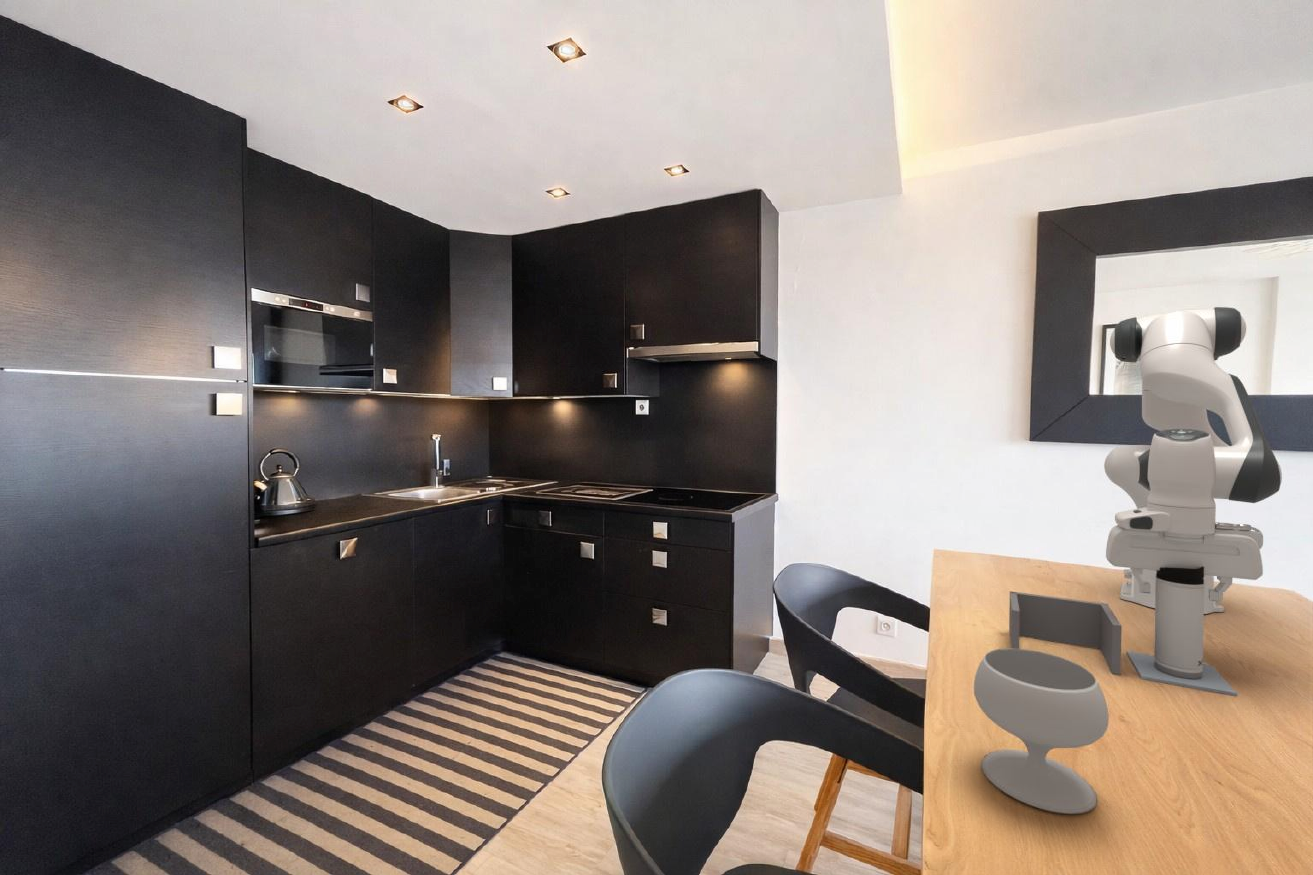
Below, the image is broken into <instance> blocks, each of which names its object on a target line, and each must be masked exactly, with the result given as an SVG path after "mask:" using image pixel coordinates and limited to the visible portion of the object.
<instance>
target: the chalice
mask: <svg viewBox="0 0 1313 875" xmlns="http://www.w3.org/2000/svg"><path fill="white" fill-rule="evenodd" d="M973 695H974V697H975V700H976V701H977V702H976V703H977V704H978V707H979V709H980V710H981V711H982V712H983V713H984V715H986V717H987V718H988V719H990V721H992V722H993V723H994V724H996V725H997V726H998V727H999V728H1001V729H1002V730H1004V731H1006V732H1008V733H1009V734H1011V735H1012V736H1014V737H1016V738H1018V739H1019V740H1020V741H1021V742H1022V743H1023V745H1025V747H1026V749H1027V751H1024V750H1020V749H1019V750H1018V749H1017V750H1016V749H1000V750H995V751H991V752H990V753H988V754H986V755H985V756H984V757H983V758H982V760H981V765H980V766H981V770H982V772H983V773H984V775H985V776H986V779H988V780H989V782H990V783H991V784H993V786H995V787H996V788H997V789H999V790H1000V791H1002V792H1003V793H1005V795H1008V796H1010V797H1012V798H1014V799H1016V800H1017V801H1020V802H1021V803H1024V804H1026V805H1028V806H1032V807H1034V808H1038V809H1040V810H1043V811H1046V812H1047V811H1048V812H1052V813H1058V814H1065V815H1068V814H1069V815H1074V814H1077V815H1078V814H1084V813H1087V812H1090V811H1092V810H1093V809H1094V808H1095V807H1096V806H1097V804H1098V801H1099V800H1098V796H1097V792H1096V791H1095V789H1094V788H1093V786H1092V785H1091V784H1090V783H1089V782H1088V781H1087V779H1085V777H1083V776H1081V775H1080V774H1079V773H1077V772H1076V771H1075V770H1073V769H1072V768H1070V767H1068V766H1067V765H1064V764H1062V763H1060V762H1058V761H1056V760H1054V759H1052V758H1050V757H1047V754H1048V753H1049V752H1050V751H1051V750H1054V749H1077V748H1082V747H1086V746H1090V745H1092V744H1094V743H1096V742H1097V741H1099V740H1100V739H1101V738H1102V737H1104V735H1105V734H1106V732H1107V731H1108V728H1109V720H1110V719H1109V718H1110V717H1109V716H1110V715H1109V709H1108V704H1107V700H1106V697H1105V694H1104V692H1103V690H1102V688H1101V686H1100V684H1099V681H1098V680H1097V678H1096V676H1094V674H1093V673H1092V672H1091V671H1090V670H1088V668H1087V669H1086V668H1085V667H1083V666H1082V665H1080V664H1078V663H1076V662H1074V661H1072V660H1069V659H1067V658H1064V657H1060V656H1058V655H1054V654H1051V653H1048V652H1047V653H1046V652H1042V651H1039V650H1038V651H1037V650H1033V649H1028V648H1027V649H1026V648H1019V649H1016V648H1011V647H1010V648H997V649H994V650H990V651H989V652H987V653H986V654H985V655H984V657H983V658H982V659H981V661H980V663H979V664H978V667H977V669H976V673H975V676H974V682H973Z"/></svg>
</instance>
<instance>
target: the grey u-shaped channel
mask: <svg viewBox="0 0 1313 875" xmlns="http://www.w3.org/2000/svg"><path fill="white" fill-rule="evenodd" d="M1008 618H1009V620H1008V621H1009V623H1008V624H1009V628H1008V629H1009V630H1008V633H1009V642H1010V643H1009V644H1010V648H1016V649H1020V637H1023V636H1024V637H1025V638H1029V637H1030V639H1036V640H1037V639H1038V640H1043V641H1048V642H1054V643H1055V642H1056V643H1062V644H1067V645H1073V646H1080V647H1086V648H1092V649H1096V650H1100V652H1101V653H1102V656H1103V658H1104V660H1105V662H1106V663H1107V666H1108V668H1109V670H1110V672H1111V674H1113V675H1117V676H1121V675H1122V674H1121V673H1122V627H1123V626H1122V625H1121V622H1120V621H1119V620H1118V618H1117V616H1116V614H1114V612H1113V610H1112V609H1111V607H1110V605H1109V604H1108V603H1104V602H1103V603H1102V602H1097V601H1095V602H1094V601H1089V600H1079V599H1074V598H1073V599H1072V598H1067V597H1066V598H1065V597H1059V596H1058V597H1057V596H1050V595H1049V596H1048V595H1042V594H1034V593H1026V592H1021V591H1020V592H1018V591H1011V590H1010V591H1009V617H1008Z"/></svg>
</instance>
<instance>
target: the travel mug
mask: <svg viewBox="0 0 1313 875" xmlns="http://www.w3.org/2000/svg"><path fill="white" fill-rule="evenodd" d="M1156 571H1157V570H1156ZM1203 578H1204V567H1201V568H1197V569H1188V568H1168V567H1165V568H1161V567H1160V570H1159V571H1157V573H1156V591H1155V608H1154V650H1153V651H1154V654H1153V655H1154V657H1155V658H1154V666H1155V667H1156V668H1157V669H1158V670H1160V671H1161V672H1164V673H1166V674H1169V675H1172V676H1176V677H1180V678H1185V679H1198V678H1201V677H1202V672H1203V669H1202V667H1203V663H1204V659H1203V658H1204V619H1205V618H1204V615H1205V614H1204V587H1203V586H1204V579H1203Z"/></svg>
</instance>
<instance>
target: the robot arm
mask: <svg viewBox="0 0 1313 875" xmlns="http://www.w3.org/2000/svg"><path fill="white" fill-rule="evenodd" d="M1246 333H1247V325H1246V321H1245V319H1244V317H1243V316H1242V315H1241V312H1240V311H1239V310H1238V309H1237V308H1235V307H1227V306H1226V307H1225V306H1224V307H1223V306H1221V307H1220V306H1215V307H1213V308H1196V309H1195V308H1194V309H1182V310H1180V309H1179V310H1174V311H1169V312H1164V313H1158V314H1157V313H1156V314H1151V315H1147V316H1141V317H1136V316H1133V317H1130V318H1126V319H1124V320H1123V319H1122V320H1121V321H1119V322H1118V323H1117V324H1116V325H1115V326H1114V329H1113V330H1112V332H1111V333H1110V334H1111V335H1110V338H1109V345H1110V346H1109V347H1110V348H1111V351H1112V353H1113V354H1114V357H1115V359H1117V360H1119V361H1120V362H1123V363H1124V362H1125V363H1132V364H1133V363H1135V364H1136V363H1137V362H1140V363H1139V364H1140V365H1139V366H1140V376H1141V380H1142V382H1141V383H1142V384H1141V417H1142V420H1143V422H1144V423H1145V424H1146V425H1147V426H1149V427H1150V428H1152V429H1155V430H1157V432H1156V433H1154V434H1153V436H1152V440H1151V443H1150V444H1151V445H1150V444H1148V445H1147V444H1137V445H1126V446H1120V447H1115V448H1114V449H1112V450H1111V451H1110V452H1109V453H1108V454H1107V456H1106V458H1105V460H1104V465H1103V466H1104V472H1105V474H1106V476H1107V477H1108V480H1110V481H1111V482H1112V483H1113V484H1114V485H1116V486H1118V487H1119V488H1121V489H1122V490H1123V491H1124V492H1125V493H1126V494H1127V495H1128V496H1129V497H1130V498H1131V500H1132V501H1133V503H1134V504H1135V506H1136V508H1135V509H1129V510H1124V511H1123V510H1122V511H1119V512H1116V513H1115V514H1114V520H1115V521H1114V522H1115V523H1116V524H1117V525H1115V526H1113V527H1112V528H1111V529H1110V531H1109V533H1108V537H1107V542H1106V550H1105V558H1106V560H1107V561H1108V563H1110V564H1111V565H1112V567H1117V568H1127V569H1123V572H1124V573H1123V574H1124V575H1123V577H1124V579H1128V580H1127V581H1124V582H1123V581H1122V582H1121V588H1120V593H1119V598H1120V600H1124V601H1127V602H1132V603H1136V604H1139V605H1142V606H1144V607H1149V608H1152V609H1155V591H1156V573H1157V571H1159V570H1160V567H1161V568H1165V567H1168V568H1188V569H1197V568H1201V567H1204V578H1203V579H1204V586H1203V587H1204V615H1207V614H1210V613H1222V612H1223V613H1224V612H1225V607H1224V606H1223V605H1222V604H1219V603H1217V602H1220V603H1223V600H1224V593H1225V592H1226V591H1227V590H1228V589H1229V588H1230V587H1231V586H1233V579H1241V580H1251V581H1252V580H1254V581H1256V580H1257V581H1258V579H1259V578H1261V577H1262V576H1263V574H1264V572H1263V571H1264V570H1263V560H1262V555H1261V549H1262V548H1263V546H1264V534H1263V532H1262V531H1261V530H1260V529H1259V528H1257V527H1253V526H1251V525H1250V524H1245V523H1239V524H1236V523H1229V522H1216V515H1217V514H1216V512H1217V511H1216V508H1217V505H1216V502H1215V501H1216V500H1217V499H1218V500H1228V501H1232V502H1242V503H1249V504H1256V503H1258V502H1261V501H1264V500H1266V499H1268V498H1270V497H1272V496H1273V495H1275V494H1276V493H1278V492H1279V490H1280V488H1281V486H1282V485H1281V484H1282V479H1283V472H1282V469H1281V465H1280V464H1279V461H1278V460H1277V458H1276V456H1275V454H1274V451H1273V450H1272V448H1271V447H1270V444H1269V443H1268V441H1267V438H1266V436H1265V434H1264V431H1263V428H1262V425H1261V423H1260V421H1259V419H1258V416H1257V413H1256V410H1255V408H1254V405H1253V403H1252V401H1251V399H1250V398H1251V397H1250V396H1249V394H1248V392H1247V389H1246V388H1245V385H1244V383H1243V382H1242V381H1241V379H1240V378H1239V377H1238V376H1237V375H1235V374H1231V373H1227V372H1226V371H1225V370H1223V369H1222V367H1220V366H1219V365H1218V363H1217V362H1216V361H1218V359H1219V358H1220V357H1223V356H1226V355H1230V354H1232V353H1233V352H1234V351H1236V350H1237V349H1239V348H1240V346H1241V344H1242V342H1243V341H1244V339H1245V336H1246ZM1207 410H1208V411H1211V412H1213V413H1215V414H1217V415H1218V416H1219V417H1220V418H1221V419H1222V421H1223V424H1224V426H1225V429H1226V432H1227V435H1228V438H1229V441H1230V444H1231V445H1229V444H1227V443H1226V442H1225V441H1224V440H1222V439H1221V438H1220V437H1219V436H1218V435H1217V434H1216V432H1215V431H1214V429H1213V428H1212V426H1211V424H1210V422H1209V419H1208V411H1207ZM1215 499H1216V500H1215ZM1156 570H1157V571H1156ZM1215 577H1216V579H1217V581H1218V584H1216V586H1215ZM1129 579H1130V580H1129Z"/></svg>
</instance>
